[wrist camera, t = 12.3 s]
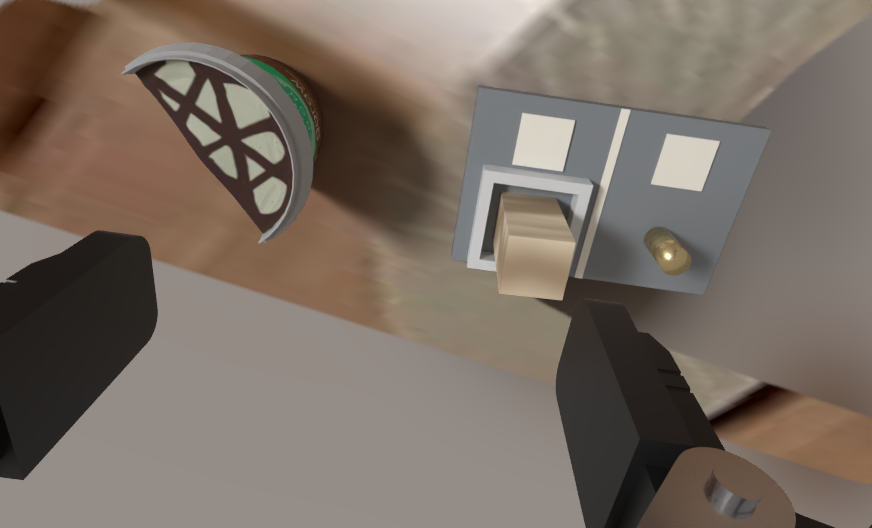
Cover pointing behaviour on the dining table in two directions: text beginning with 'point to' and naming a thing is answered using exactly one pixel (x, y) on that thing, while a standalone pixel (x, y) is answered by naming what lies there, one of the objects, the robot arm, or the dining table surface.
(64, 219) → the dining table surface
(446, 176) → the dining table surface
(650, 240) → the pin
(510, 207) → the square pin
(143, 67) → the food container
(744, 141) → the board
